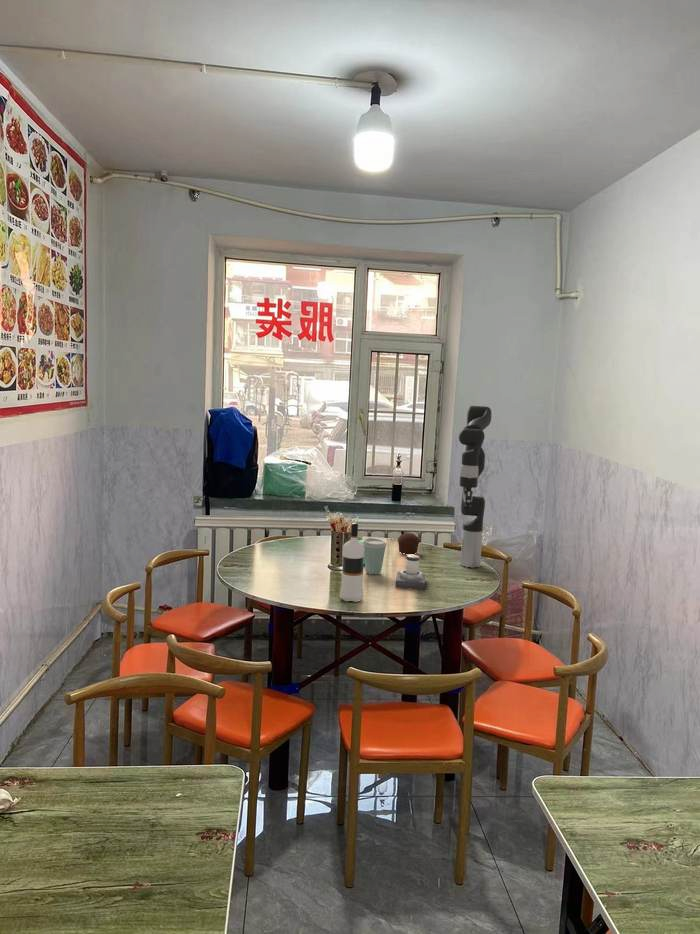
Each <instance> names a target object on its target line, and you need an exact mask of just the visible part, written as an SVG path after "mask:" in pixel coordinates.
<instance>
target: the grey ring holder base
mask: <svg viewBox="0 0 700 934" xmlns="http://www.w3.org/2000/svg"><path fill="white" fill-rule="evenodd" d="M425 584H426V573H423V572H422V571H420V570H418V574H417V575H410V574H405V569H402V570H400V571H397V573H396V578H395V585H394V586H395V587H401V589H408V588H412V589H411V590H420V589H422V590H424V591H425V588H426V587H425V586H426V585H425Z"/></svg>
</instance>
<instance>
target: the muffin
mask: <svg viewBox="0 0 700 934" xmlns="http://www.w3.org/2000/svg"><path fill="white" fill-rule="evenodd" d="M396 540H397V542H398V544H397V545H398V553H399V552H401V553H405V554H415V553H418V548H419V544H420V542H421V540H420V538H419V537H418V536H417V535H416V534H415V533H413V532H405V533H402V534H401V535H399V537H398V538H397V539H396Z"/></svg>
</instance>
